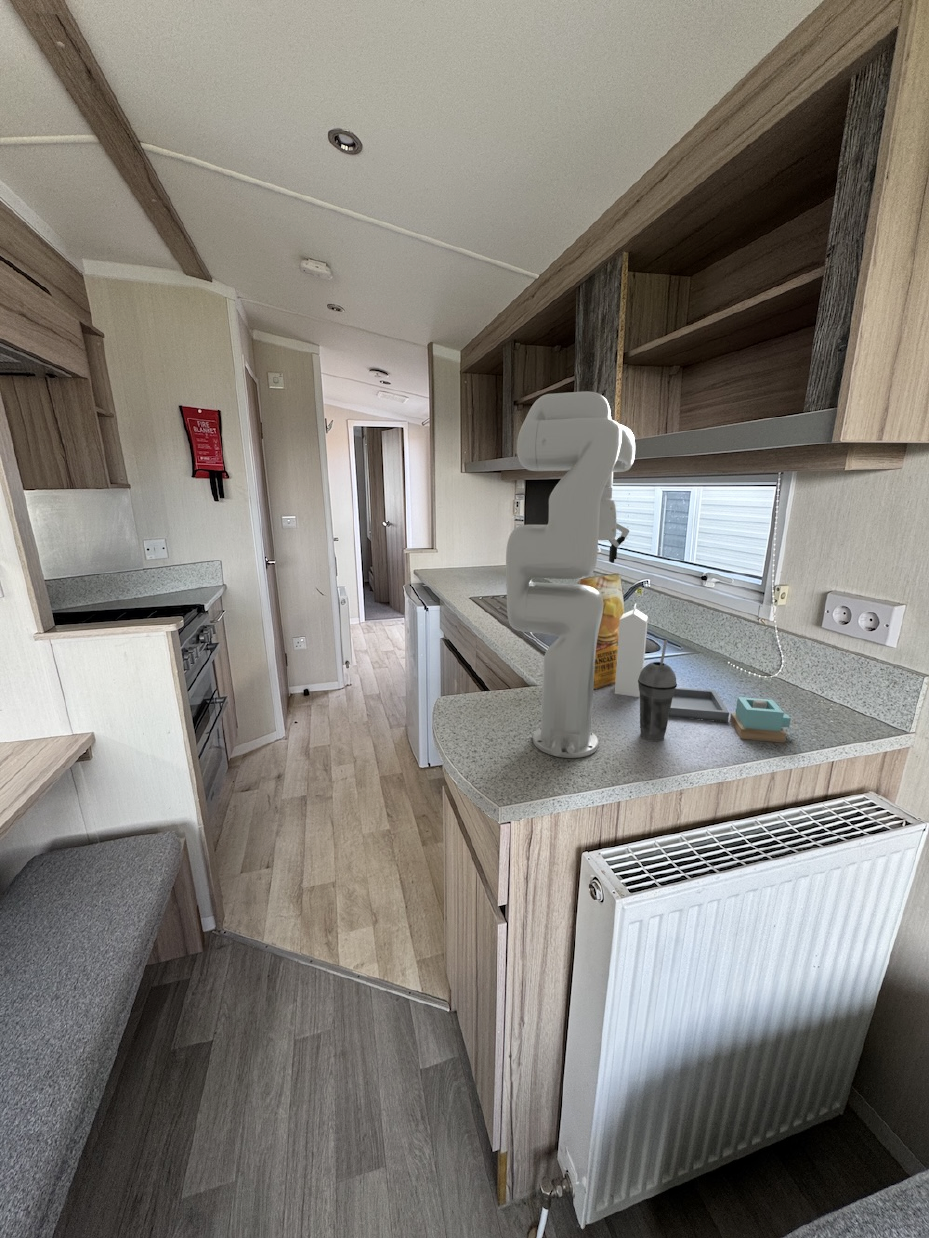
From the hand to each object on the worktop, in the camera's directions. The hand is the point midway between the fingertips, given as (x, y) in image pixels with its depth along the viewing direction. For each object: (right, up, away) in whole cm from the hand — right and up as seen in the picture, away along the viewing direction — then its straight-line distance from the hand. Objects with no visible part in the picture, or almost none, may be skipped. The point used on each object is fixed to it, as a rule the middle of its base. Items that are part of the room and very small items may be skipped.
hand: (592, 562), depth 132 cm
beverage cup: (+4, -39, -30) cm, 49 cm away
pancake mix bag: (+2, -32, 0) cm, 32 cm away
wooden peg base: (+27, -38, -28) cm, 54 cm away
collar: (+28, -36, -29) cm, 54 cm away
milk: (+7, -33, -6) cm, 34 cm away
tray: (+18, -35, -16) cm, 43 cm away
